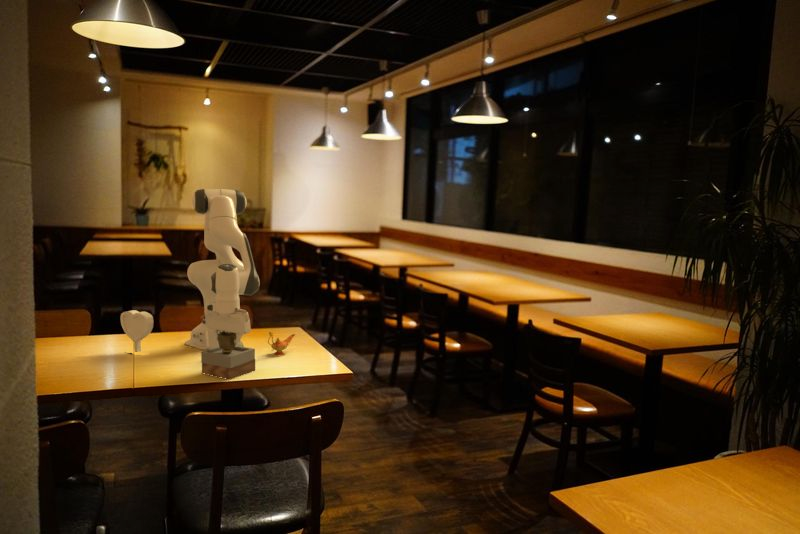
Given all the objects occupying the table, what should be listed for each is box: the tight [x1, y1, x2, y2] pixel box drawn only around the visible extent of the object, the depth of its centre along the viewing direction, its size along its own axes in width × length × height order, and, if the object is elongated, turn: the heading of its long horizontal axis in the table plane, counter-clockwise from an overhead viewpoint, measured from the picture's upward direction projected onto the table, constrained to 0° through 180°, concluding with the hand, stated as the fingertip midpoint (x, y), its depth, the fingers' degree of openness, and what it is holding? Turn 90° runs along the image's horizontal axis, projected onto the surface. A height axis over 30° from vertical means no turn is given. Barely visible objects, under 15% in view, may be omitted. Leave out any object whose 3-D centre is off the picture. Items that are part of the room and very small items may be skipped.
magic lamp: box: [267, 331, 296, 356], centre depth 259 cm, size 7×18×11 cm, turn 151°
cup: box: [217, 331, 237, 354], centre depth 230 cm, size 8×7×8 cm
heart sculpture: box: [119, 309, 154, 352], centre depth 253 cm, size 16×5×18 cm, turn 65°
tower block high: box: [200, 346, 256, 368], centre depth 230 cm, size 14×14×4 cm
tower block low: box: [201, 359, 256, 380], centre depth 230 cm, size 14×14×5 cm
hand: (228, 342), depth 229 cm, fingers open, 8 cm apart
